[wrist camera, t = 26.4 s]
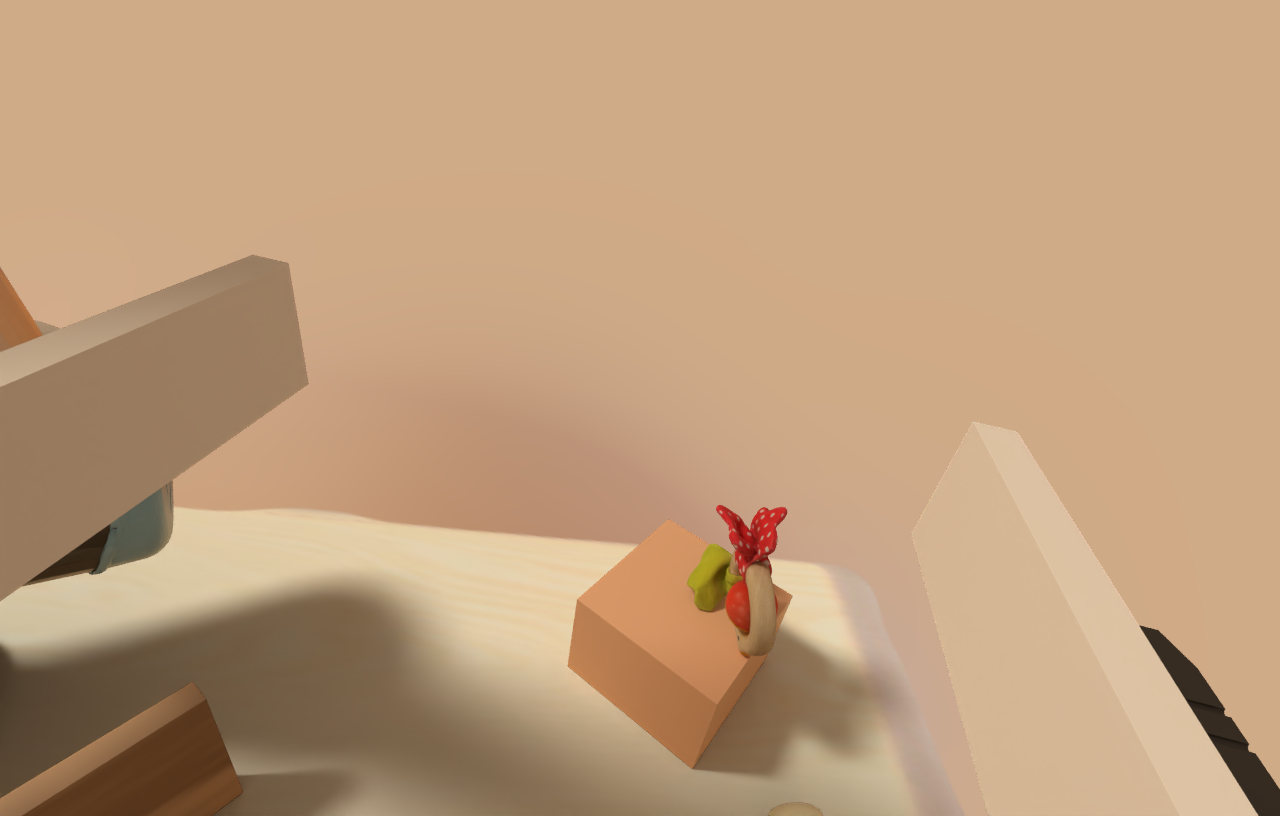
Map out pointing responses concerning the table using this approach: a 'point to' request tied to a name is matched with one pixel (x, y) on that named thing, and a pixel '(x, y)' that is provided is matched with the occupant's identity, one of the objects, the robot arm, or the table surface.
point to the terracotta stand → (663, 644)
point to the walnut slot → (139, 768)
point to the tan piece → (795, 810)
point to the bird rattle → (742, 579)
